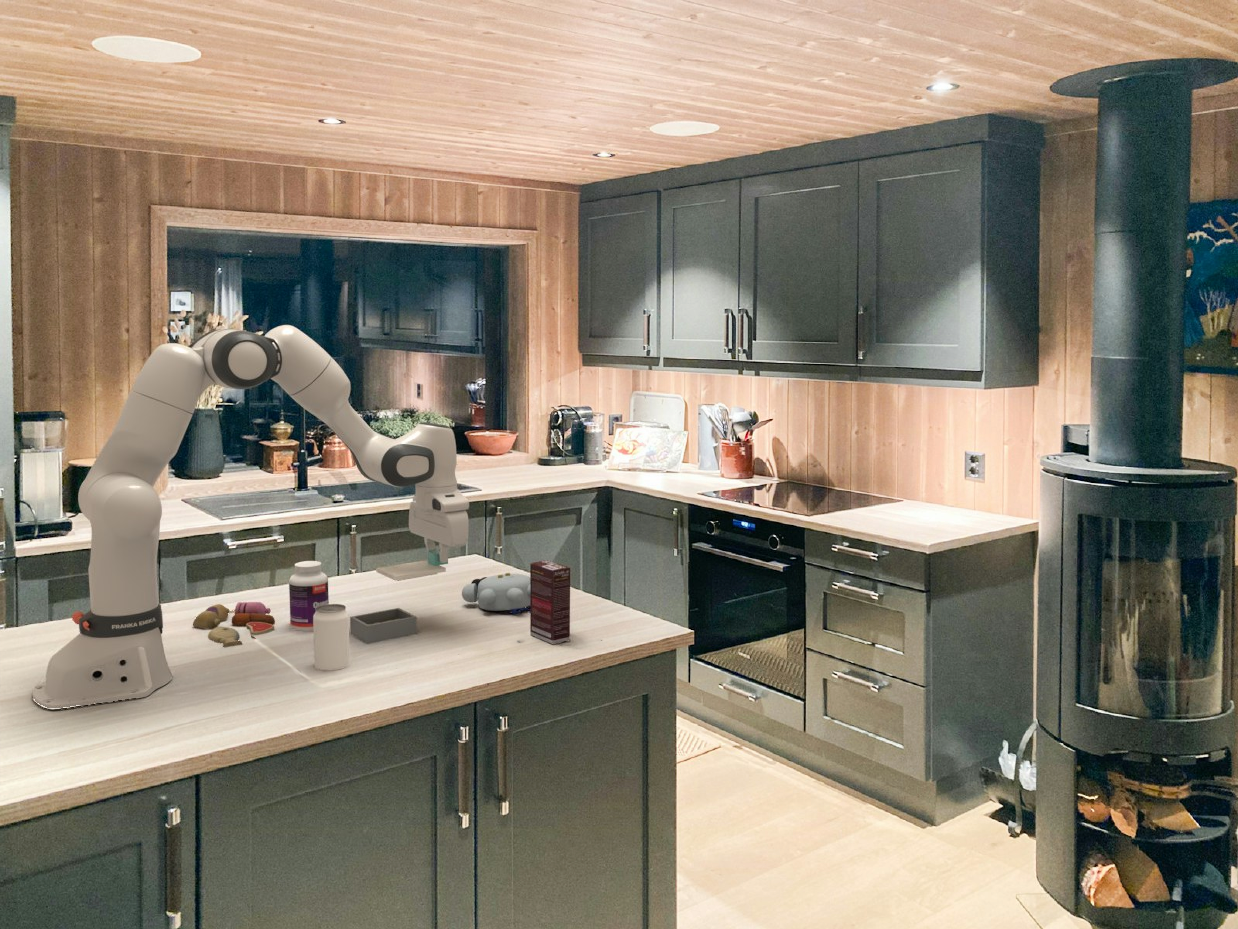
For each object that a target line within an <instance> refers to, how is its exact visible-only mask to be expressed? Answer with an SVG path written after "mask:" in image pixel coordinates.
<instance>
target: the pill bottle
mask: <svg viewBox="0 0 1238 929" xmlns="http://www.w3.org/2000/svg"><path fill="white" fill-rule="evenodd" d="M294 572H295V573H294V574H292V575H291V576H290V578H289V579H288V589H289V591H288V592H289V593H288V594H289V618H290V619H289V622H290V623H289V625H290V628H291V629H292V630H295V631H299V632H300V631H302V632H307V631H308V632H309V631H311V632H312V631H314V630H313V616H314V614H315V612H316V610H315V608H316V607H318V606H321V605H326V604H330V602H329V600H330V599H329V578H328V575H327V574H325V572H322V562H321V561H316V560H304V561H299V562H296V563H294Z"/></svg>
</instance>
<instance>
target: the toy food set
mask: <svg viewBox="0 0 1238 929" xmlns="http://www.w3.org/2000/svg"><path fill="white" fill-rule="evenodd" d="M230 610H232V611H230ZM233 610H234V611H233ZM228 613H229V614H234V615H233V616H232V618H231V624H232V626H233V627H246V630H249V631H250V637H251V639H252V640H253V639H254V640H255V639H257V638H256V637H255V636H260V635H264V634H267V633H271V632H273V631H275V624H276V620H275V618H274V616H273V615H271V614H270V613H272V612H271V608H270V607H266V605H265V604H264V603H262V602H260V601H253V602H252V601H249V602H247V601H246V602H245V601H243V602H241V601H240V602H237V603H236V605H235V608H234V609H229V608H227V607H226V606H224V605H223V604H219V603H218V604H217V603H216V604H214V605H212V606H209V607H208V608H206V609H205V611H202V612H200V613H199V614H198V615H197V617H196V616H195V617H196V619H194V620H193V622H192V627H193V626H194V627H193V628H197V627H198V629H203V630H210V631H209V633H208V634H207V638H208V639H209V640H210V641H211V640H212V641H211V642H213V641H214V643H217V644H221V643H223V644H222V648H223V647H224V648H229V647H237V646H241V645H242V646H243V641H241V640H240V637H241V636H240V633H239V632H238V630H236V629H234V628H231V627H227V626H220V624H221V622H224V621H226V620H227V619H228V616H229V614H228ZM238 640H239V641H238Z"/></svg>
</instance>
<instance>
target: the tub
mask: <svg viewBox="0 0 1238 929" xmlns="http://www.w3.org/2000/svg"><path fill="white" fill-rule="evenodd" d="M399 618H400V619H399ZM349 619H350V620H349V621H350V622H349V623H350V625H349V627H350V630H349V633H350V635H351V636H353V637H355V638H356V639H357V640H358V639H359V640H360V641H362V642H363V643H365V644H367V645H370V644H375V643H379V642H384V641H388V640H393V639H400V638H403V637H409V636H412V635H418V622H417V621H418V617H417V616H416V615H414V614H413V613H410V612H408V611H407V610H404V609H402V608H400V607H397V608H391V609H385V610H380V611H375V612H374V611H373V612H369V613H364V614H357V615H352V616H349ZM393 619H397V620H393ZM388 620H392V621H388ZM383 621H387V622H383ZM378 622H379V623H378ZM372 623H377V624H372ZM368 624H371V625H368Z"/></svg>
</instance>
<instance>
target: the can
mask: <svg viewBox="0 0 1238 929" xmlns="http://www.w3.org/2000/svg"><path fill="white" fill-rule="evenodd" d="M346 608H347V607H346V606H345V605H344V604H340V603H339V604H338V603H329V604H326V605H321V606H318V607H316V608H315V610H316V612H315V614H314V616H313V630H312V631H313V653H314V654H313V656H314V657H313V658H314V660H313V661H314V667H315V669H316V670H320V671H337V670H341V669H345V668H346V667H349V666H350V630H349V627H350V625H349V623H350V622H349V613H348V611H347V610H346Z"/></svg>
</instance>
